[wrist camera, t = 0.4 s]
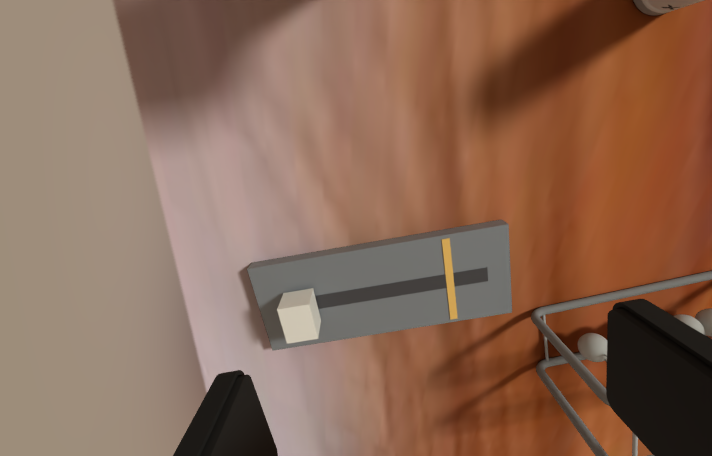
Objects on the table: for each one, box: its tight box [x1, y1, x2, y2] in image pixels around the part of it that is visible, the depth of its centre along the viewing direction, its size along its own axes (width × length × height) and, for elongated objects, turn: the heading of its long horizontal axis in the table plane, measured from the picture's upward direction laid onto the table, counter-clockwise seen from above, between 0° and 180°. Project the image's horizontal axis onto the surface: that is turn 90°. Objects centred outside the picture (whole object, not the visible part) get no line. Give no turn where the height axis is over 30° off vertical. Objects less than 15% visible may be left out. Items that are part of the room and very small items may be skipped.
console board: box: [247, 220, 512, 350], centre depth 46 cm, size 13×34×2 cm, turn 100°
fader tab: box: [277, 288, 321, 344], centre depth 43 cm, size 5×4×4 cm
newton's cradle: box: [531, 271, 712, 456], centre depth 41 cm, size 30×10×18 cm, turn 104°
